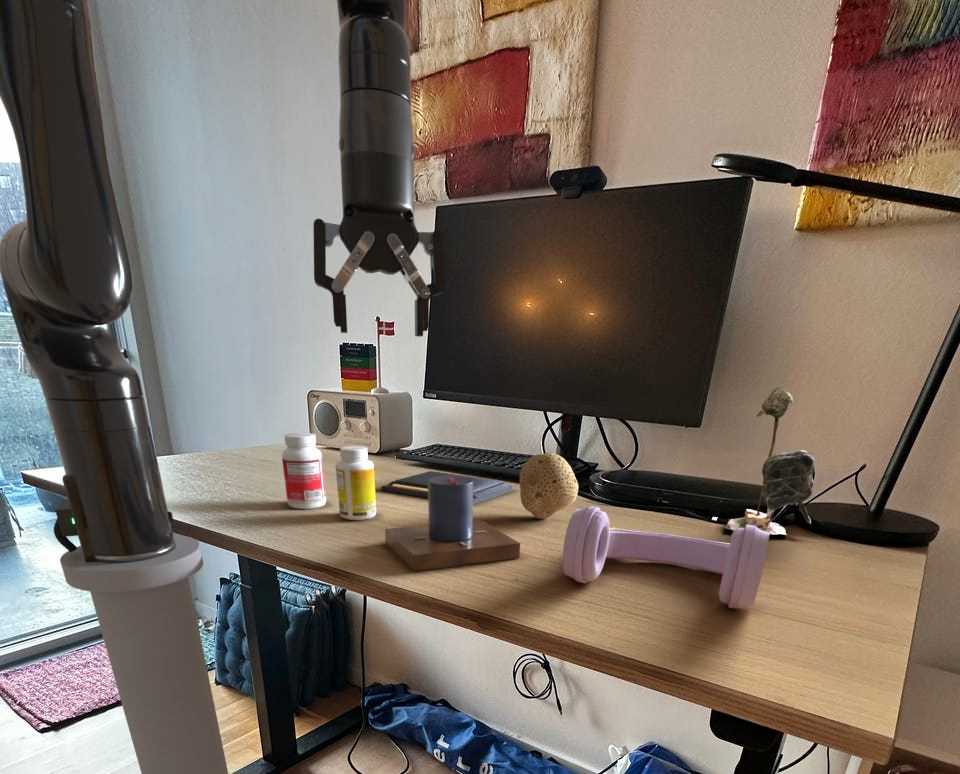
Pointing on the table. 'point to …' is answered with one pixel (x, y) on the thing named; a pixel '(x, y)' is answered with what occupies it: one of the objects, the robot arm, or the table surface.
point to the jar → (450, 508)
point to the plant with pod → (780, 475)
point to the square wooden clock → (450, 547)
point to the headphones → (666, 553)
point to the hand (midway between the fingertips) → (381, 334)
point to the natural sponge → (547, 485)
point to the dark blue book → (419, 482)
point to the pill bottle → (303, 472)
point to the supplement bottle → (355, 484)
